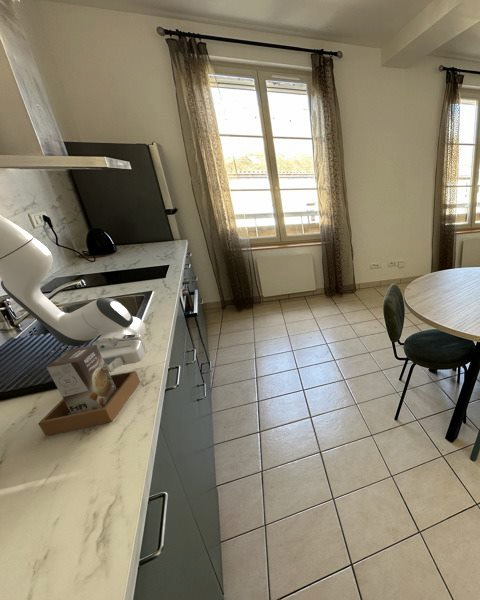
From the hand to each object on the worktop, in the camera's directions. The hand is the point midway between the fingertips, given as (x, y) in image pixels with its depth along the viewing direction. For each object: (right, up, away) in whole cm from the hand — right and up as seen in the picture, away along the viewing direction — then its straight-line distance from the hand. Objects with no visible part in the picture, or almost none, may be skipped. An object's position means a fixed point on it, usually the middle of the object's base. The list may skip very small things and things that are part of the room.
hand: (85, 374), depth 86 cm
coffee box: (+1, -9, +3) cm, 10 cm away
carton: (+1, -9, +2) cm, 10 cm away
